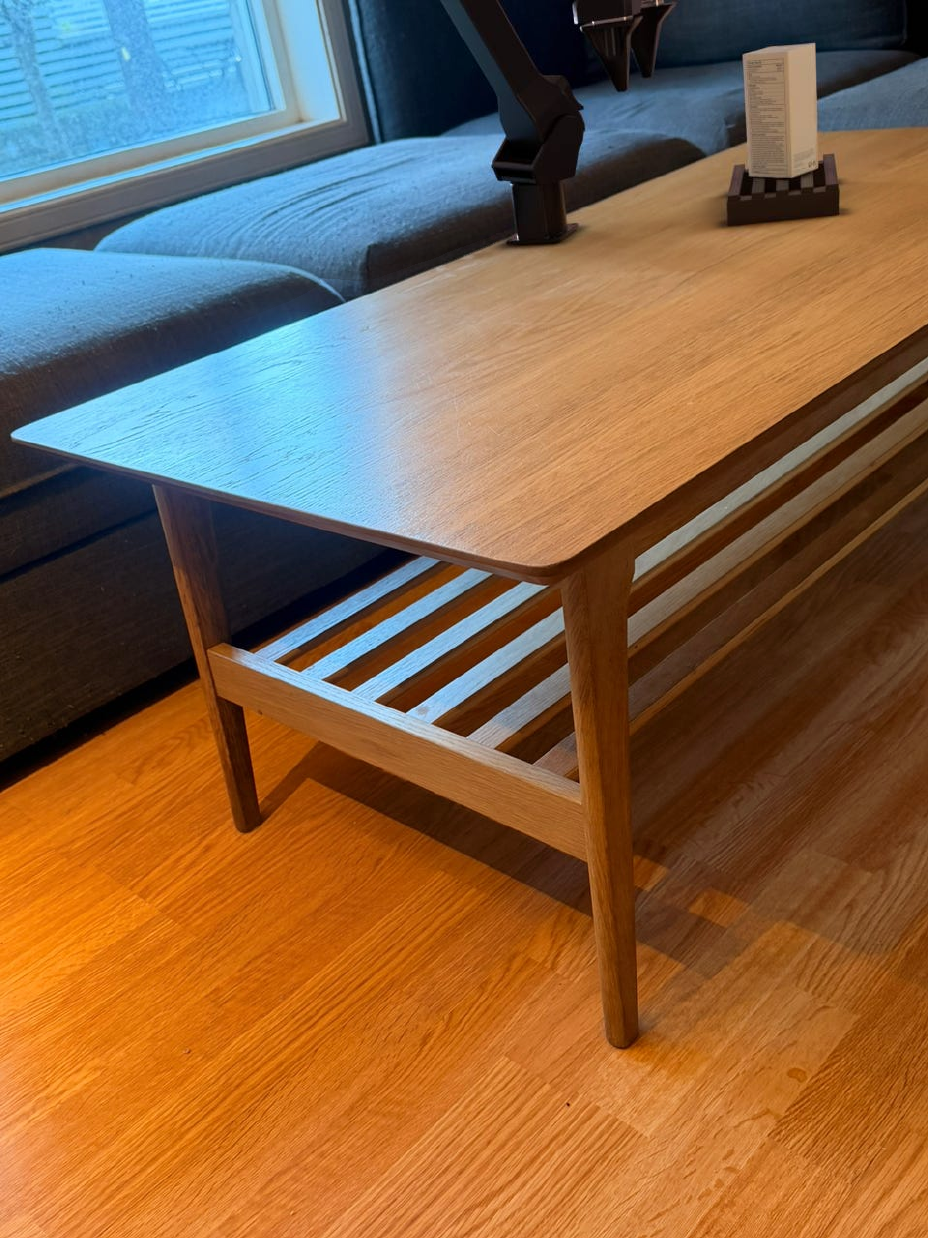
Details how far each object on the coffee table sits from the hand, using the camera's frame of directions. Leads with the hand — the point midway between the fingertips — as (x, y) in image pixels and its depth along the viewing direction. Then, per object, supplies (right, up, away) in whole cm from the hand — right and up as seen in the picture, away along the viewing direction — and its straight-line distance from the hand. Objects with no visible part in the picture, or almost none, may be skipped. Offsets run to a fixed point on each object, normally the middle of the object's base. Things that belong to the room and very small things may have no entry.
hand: (635, 84), depth 124 cm
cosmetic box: (+15, -12, -4) cm, 19 cm away
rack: (+16, -14, -3) cm, 21 cm away
